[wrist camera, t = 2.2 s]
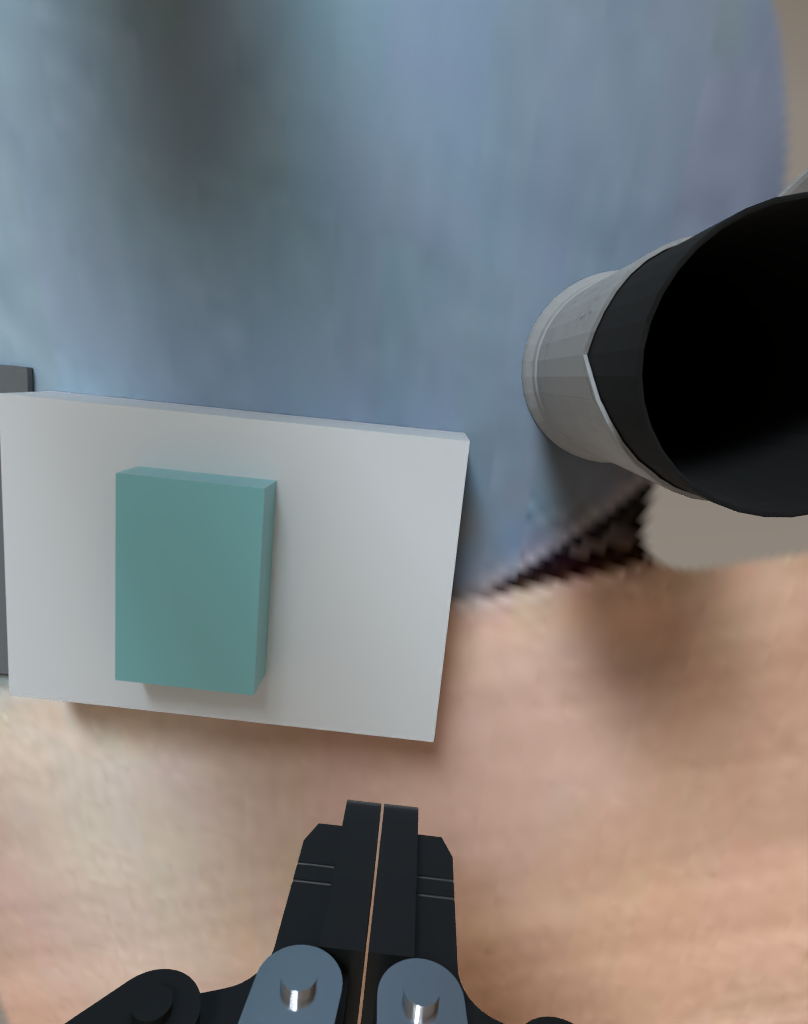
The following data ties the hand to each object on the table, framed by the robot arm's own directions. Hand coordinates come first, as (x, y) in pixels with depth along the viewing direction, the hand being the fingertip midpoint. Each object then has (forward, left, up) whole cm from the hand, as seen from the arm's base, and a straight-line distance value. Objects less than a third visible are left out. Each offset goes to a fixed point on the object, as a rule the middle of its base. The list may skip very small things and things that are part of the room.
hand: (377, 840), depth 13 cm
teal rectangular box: (0, -9, -15) cm, 18 cm away
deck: (0, -8, -19) cm, 21 cm away
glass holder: (-13, +10, -20) cm, 25 cm away
